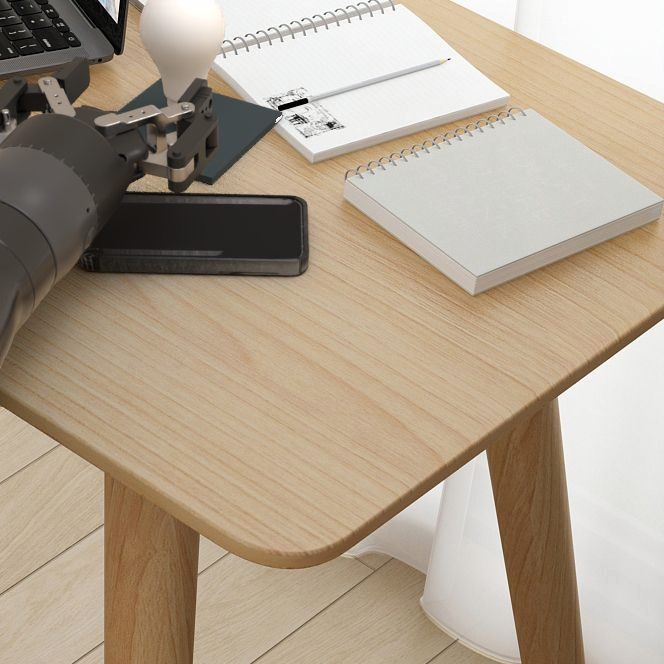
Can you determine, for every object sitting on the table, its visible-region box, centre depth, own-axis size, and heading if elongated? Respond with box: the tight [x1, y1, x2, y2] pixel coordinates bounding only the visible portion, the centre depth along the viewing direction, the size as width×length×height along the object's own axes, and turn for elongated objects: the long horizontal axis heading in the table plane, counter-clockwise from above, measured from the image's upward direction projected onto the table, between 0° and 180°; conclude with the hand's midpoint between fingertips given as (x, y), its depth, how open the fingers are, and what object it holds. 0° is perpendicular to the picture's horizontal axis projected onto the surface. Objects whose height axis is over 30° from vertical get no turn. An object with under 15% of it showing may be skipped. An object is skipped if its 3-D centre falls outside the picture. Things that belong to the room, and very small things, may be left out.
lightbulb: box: [138, 0, 226, 123], centre depth 87 cm, size 6×6×11 cm
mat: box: [117, 77, 283, 185], centre depth 91 cm, size 11×11×1 cm
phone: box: [77, 190, 310, 276], centre depth 80 cm, size 8×1×15 cm
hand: (143, 79), depth 81 cm, fingers open, 8 cm apart
